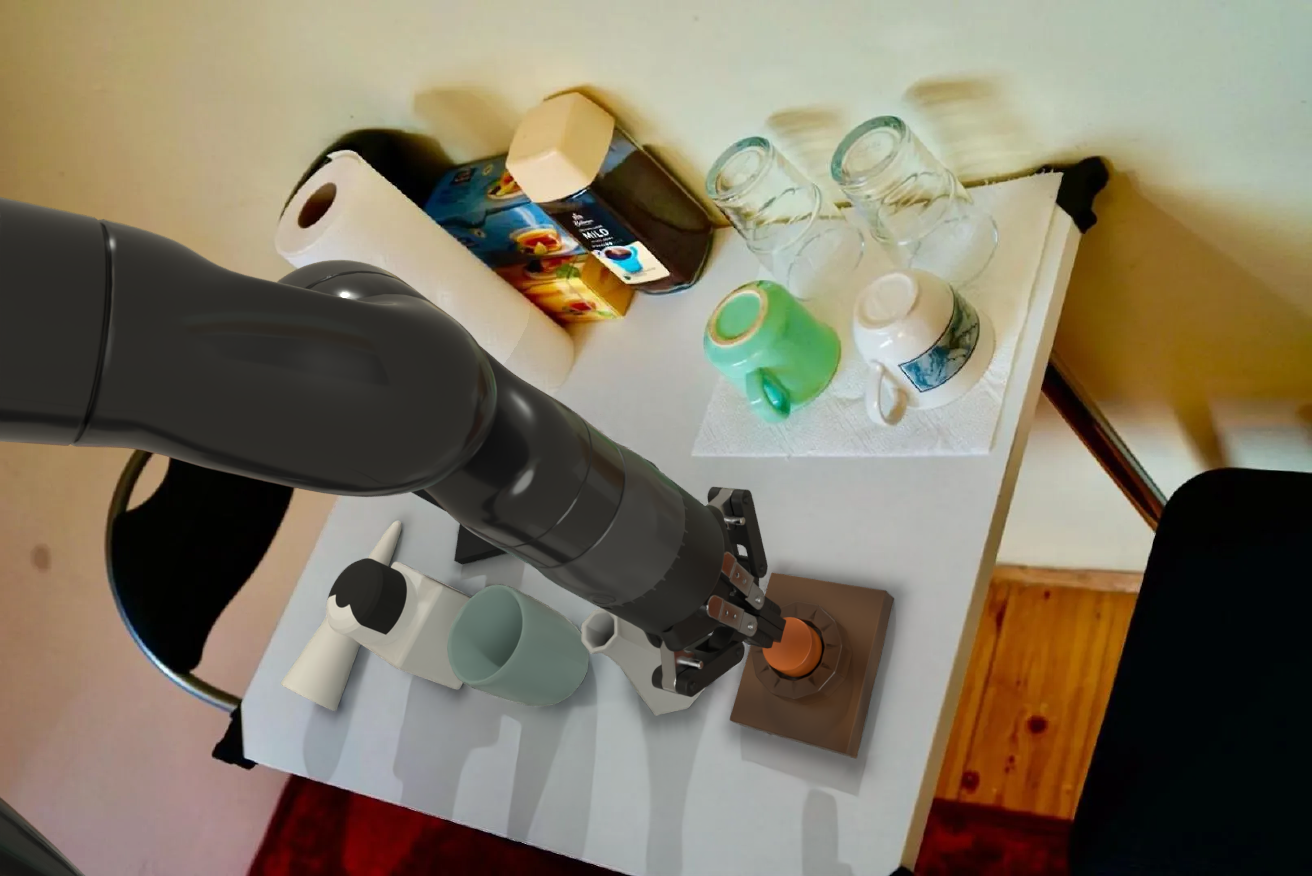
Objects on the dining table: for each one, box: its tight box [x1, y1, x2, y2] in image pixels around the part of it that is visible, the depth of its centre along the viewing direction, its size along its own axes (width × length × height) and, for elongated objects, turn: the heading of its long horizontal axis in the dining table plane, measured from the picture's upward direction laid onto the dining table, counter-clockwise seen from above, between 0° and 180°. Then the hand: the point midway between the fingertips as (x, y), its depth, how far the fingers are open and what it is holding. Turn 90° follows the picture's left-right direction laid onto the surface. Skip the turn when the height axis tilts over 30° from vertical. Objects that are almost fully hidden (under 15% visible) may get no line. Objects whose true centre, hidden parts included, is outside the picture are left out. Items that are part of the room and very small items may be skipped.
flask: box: [581, 607, 707, 717], centre depth 65 cm, size 7×7×10 cm
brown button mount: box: [729, 572, 895, 760], centre depth 61 cm, size 11×9×4 cm
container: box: [325, 557, 472, 690], centre depth 79 cm, size 8×8×13 cm
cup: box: [447, 583, 590, 707], centre depth 71 cm, size 8×8×10 cm
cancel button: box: [763, 617, 822, 677], centre depth 60 cm, size 4×4×2 cm
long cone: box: [280, 520, 402, 712], centre depth 90 cm, size 6×6×19 cm
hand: (770, 630), depth 58 cm, fingers closed
